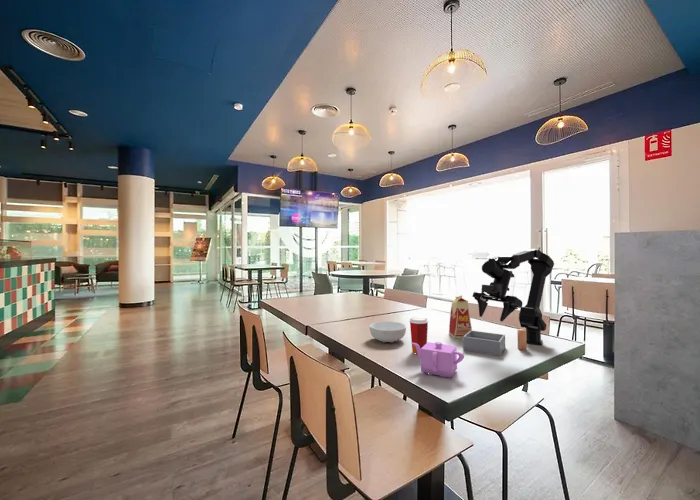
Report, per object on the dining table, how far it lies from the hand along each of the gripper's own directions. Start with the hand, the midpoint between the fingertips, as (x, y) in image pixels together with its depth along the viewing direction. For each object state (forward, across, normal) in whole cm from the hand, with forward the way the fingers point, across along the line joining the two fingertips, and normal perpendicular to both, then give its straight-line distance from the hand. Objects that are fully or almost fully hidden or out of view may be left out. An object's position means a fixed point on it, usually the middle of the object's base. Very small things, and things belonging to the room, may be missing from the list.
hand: (490, 318), depth 120 cm
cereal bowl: (+24, -37, -14) cm, 46 cm away
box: (+11, -5, +9) cm, 15 cm away
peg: (+5, +4, +20) cm, 21 cm away
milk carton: (+8, -24, +16) cm, 30 cm away
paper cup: (+23, -16, -14) cm, 32 cm away
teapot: (+27, +2, -22) cm, 35 cm away
